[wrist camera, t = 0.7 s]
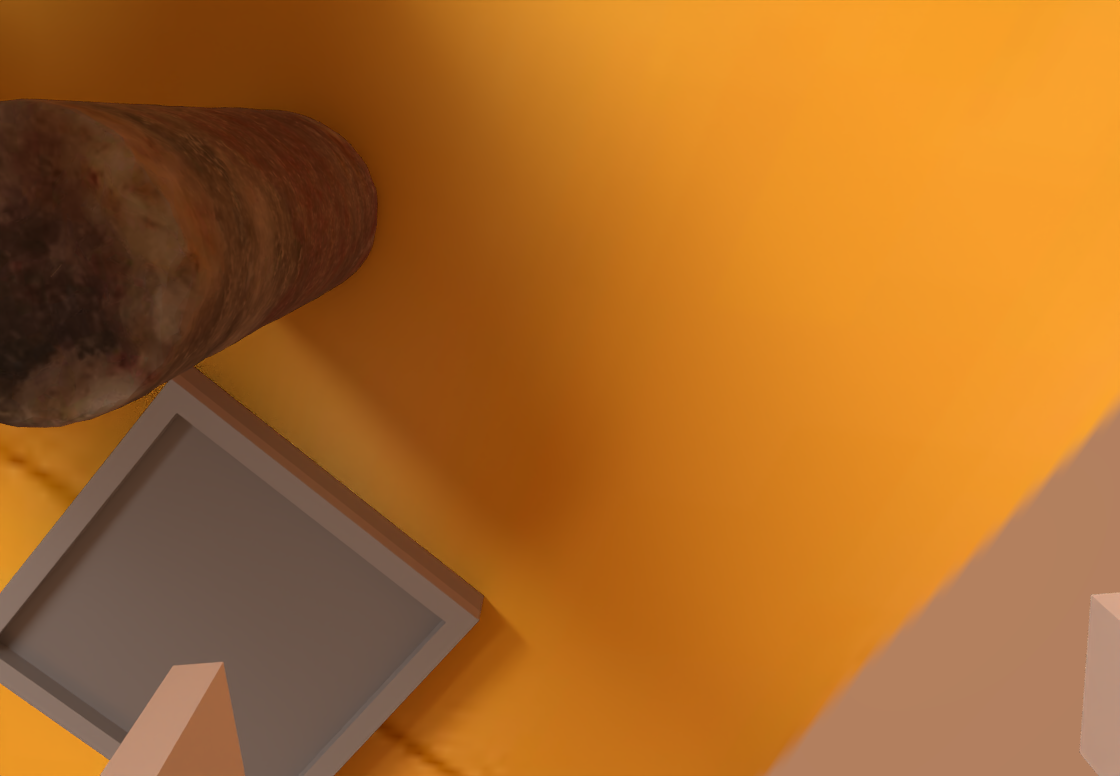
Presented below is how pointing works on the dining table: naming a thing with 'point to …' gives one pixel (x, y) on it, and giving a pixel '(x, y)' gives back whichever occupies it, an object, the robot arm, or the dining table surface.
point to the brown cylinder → (159, 242)
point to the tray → (227, 591)
